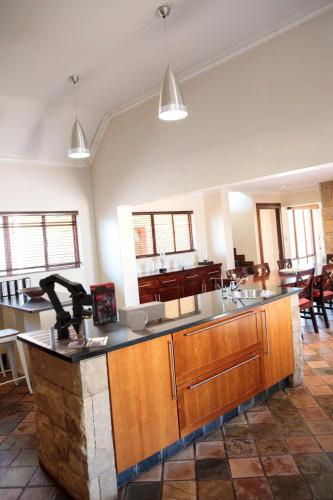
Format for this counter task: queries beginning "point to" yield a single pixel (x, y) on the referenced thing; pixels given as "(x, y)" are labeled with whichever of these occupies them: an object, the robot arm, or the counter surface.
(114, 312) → the graphics card box
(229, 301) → the counter surface
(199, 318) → the counter surface
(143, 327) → the mug
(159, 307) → the light grey long box
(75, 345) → the ink pad
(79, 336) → the stamp
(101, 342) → the sheet
